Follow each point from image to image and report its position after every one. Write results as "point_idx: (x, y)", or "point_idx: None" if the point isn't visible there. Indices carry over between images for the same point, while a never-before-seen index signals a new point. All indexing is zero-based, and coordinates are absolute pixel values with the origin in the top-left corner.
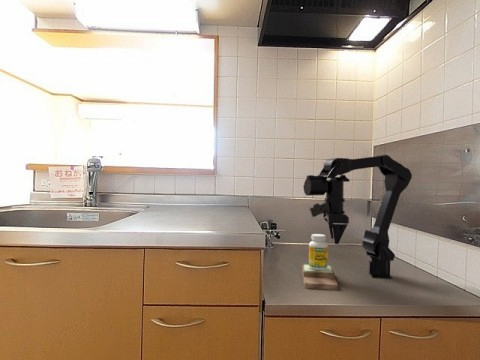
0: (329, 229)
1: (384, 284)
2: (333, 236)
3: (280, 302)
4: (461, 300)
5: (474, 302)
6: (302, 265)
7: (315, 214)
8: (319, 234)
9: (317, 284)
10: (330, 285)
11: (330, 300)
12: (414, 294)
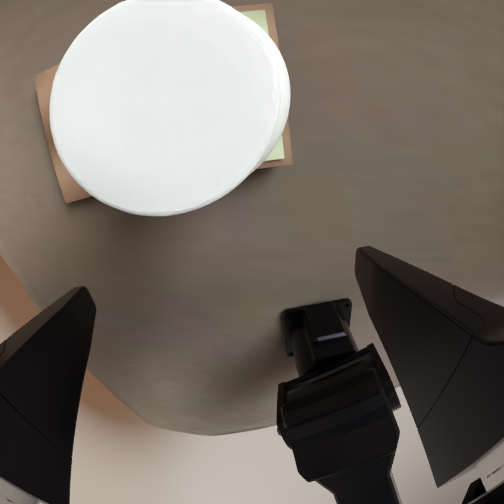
0: (425, 287)
1: (214, 334)
2: (363, 279)
3: None
4: (167, 421)
5: (167, 429)
6: (257, 5)
7: None
8: (227, 111)
9: (45, 124)
10: (59, 174)
11: None
12: (157, 376)
